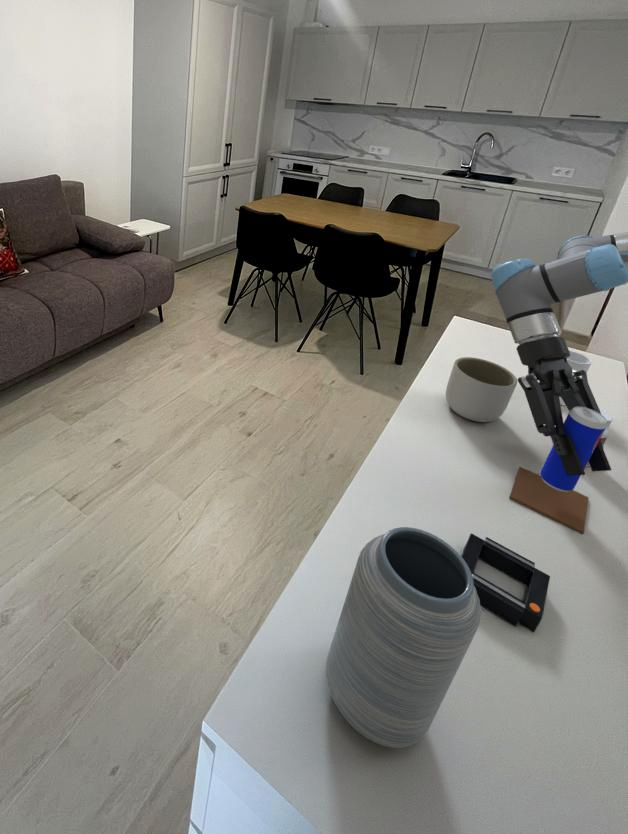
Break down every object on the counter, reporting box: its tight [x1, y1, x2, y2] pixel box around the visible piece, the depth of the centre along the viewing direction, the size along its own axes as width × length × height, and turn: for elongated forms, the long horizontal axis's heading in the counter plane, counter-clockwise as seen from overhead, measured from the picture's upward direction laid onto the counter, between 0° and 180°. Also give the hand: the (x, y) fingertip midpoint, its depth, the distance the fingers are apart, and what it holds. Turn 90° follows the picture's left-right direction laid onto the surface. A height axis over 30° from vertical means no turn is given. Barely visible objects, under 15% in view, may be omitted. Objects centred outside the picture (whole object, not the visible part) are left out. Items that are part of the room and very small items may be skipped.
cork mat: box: [508, 466, 590, 535], centre depth 91 cm, size 11×11×1 cm
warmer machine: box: [460, 532, 551, 633], centre depth 73 cm, size 11×11×3 cm
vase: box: [325, 526, 482, 749], centre depth 54 cm, size 12×12×23 cm
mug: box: [559, 349, 593, 406], centre depth 122 cm, size 10×7×12 cm, turn 148°
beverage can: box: [539, 407, 607, 492], centre depth 87 cm, size 5×5×15 cm
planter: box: [445, 356, 518, 423], centre depth 113 cm, size 12×12×11 cm
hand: (588, 472), depth 84 cm, fingers closed on beverage can, 5 cm apart
